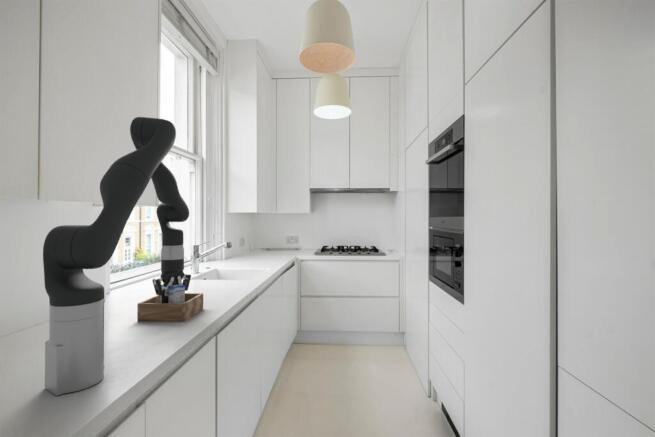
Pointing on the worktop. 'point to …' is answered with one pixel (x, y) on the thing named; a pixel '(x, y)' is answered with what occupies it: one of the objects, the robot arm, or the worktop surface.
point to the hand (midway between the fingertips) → (172, 304)
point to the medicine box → (175, 294)
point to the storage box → (169, 309)
